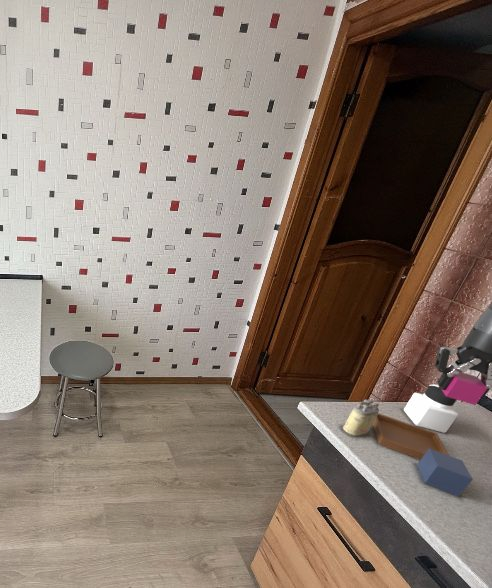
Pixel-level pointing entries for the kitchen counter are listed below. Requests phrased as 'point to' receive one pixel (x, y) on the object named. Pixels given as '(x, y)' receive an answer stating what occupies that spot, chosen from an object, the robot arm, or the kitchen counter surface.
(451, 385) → the mulberry block
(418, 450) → the tray
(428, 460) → the slate block
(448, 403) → the medicine bottle
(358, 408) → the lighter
